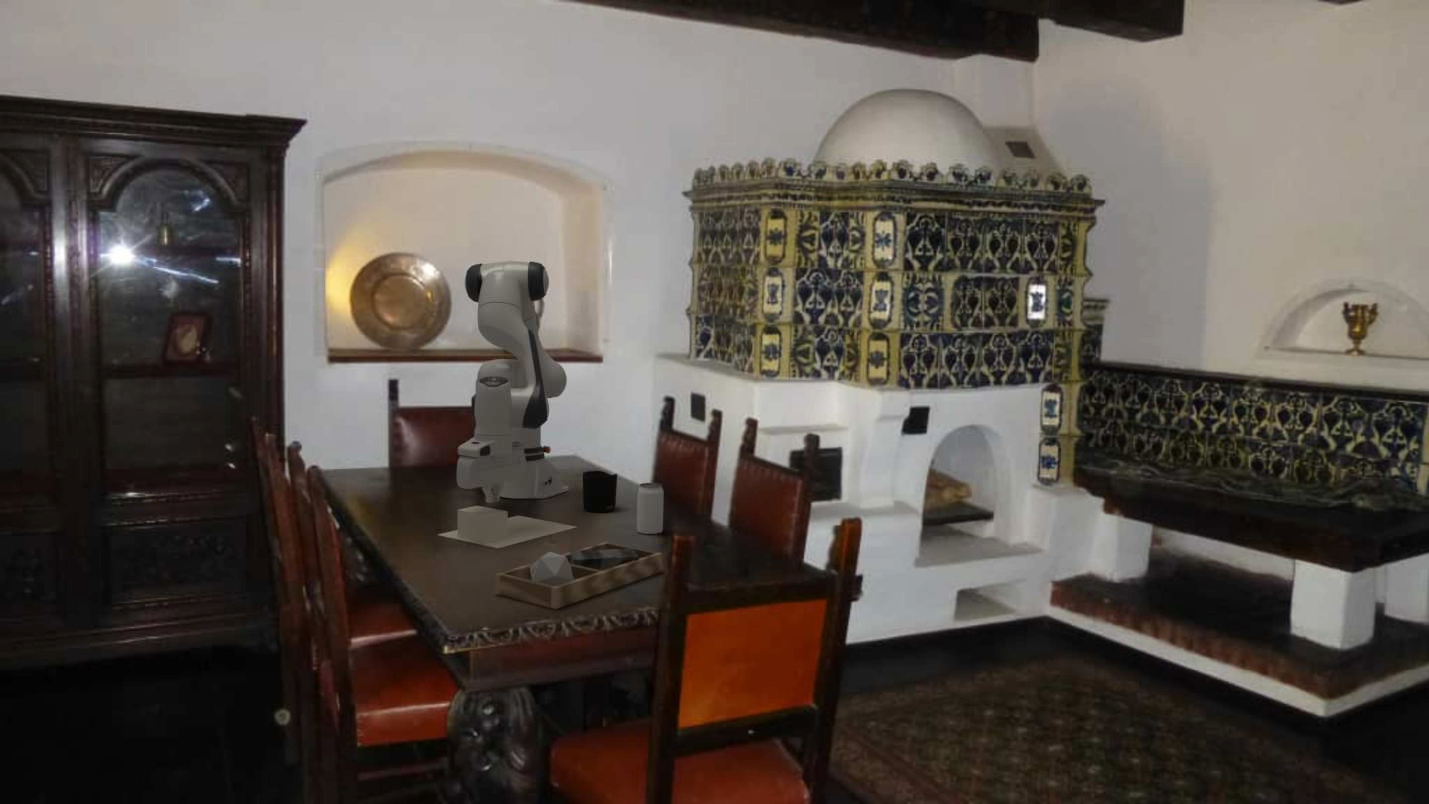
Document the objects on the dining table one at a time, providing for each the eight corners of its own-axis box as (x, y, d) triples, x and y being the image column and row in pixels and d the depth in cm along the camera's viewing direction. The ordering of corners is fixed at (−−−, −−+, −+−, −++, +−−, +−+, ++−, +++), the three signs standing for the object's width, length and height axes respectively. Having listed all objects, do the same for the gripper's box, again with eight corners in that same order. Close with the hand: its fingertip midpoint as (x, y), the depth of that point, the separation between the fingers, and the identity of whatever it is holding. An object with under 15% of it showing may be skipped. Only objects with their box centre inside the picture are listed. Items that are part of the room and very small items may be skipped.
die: (541, 587, 220) (518, 555, 215) (578, 567, 220) (556, 535, 215) (546, 612, 213) (523, 580, 208) (585, 592, 213) (562, 559, 208)
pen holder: (583, 513, 287) (584, 477, 286) (580, 506, 297) (581, 470, 295) (618, 513, 289) (619, 476, 288) (614, 506, 299) (615, 470, 297)
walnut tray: (605, 559, 241) (605, 541, 241) (662, 571, 233) (662, 553, 232) (495, 593, 213) (495, 574, 212) (555, 609, 204) (556, 588, 204)
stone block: (568, 569, 231) (568, 546, 231) (631, 568, 235) (632, 546, 234) (572, 581, 223) (573, 557, 222) (638, 579, 226) (639, 556, 226)
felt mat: (518, 517, 281) (518, 515, 281) (577, 528, 270) (577, 526, 270) (437, 536, 257) (437, 534, 257) (497, 549, 247) (497, 548, 247)
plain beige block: (457, 509, 255) (457, 536, 256) (487, 515, 250) (487, 543, 251) (477, 505, 261) (477, 531, 262) (507, 511, 255) (507, 538, 256)
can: (666, 530, 271) (667, 483, 270) (656, 536, 265) (658, 488, 264) (642, 528, 273) (643, 481, 272) (632, 533, 267) (633, 485, 266)
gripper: (513, 439, 267) (513, 493, 268) (452, 448, 250) (452, 506, 251) (532, 441, 263) (532, 497, 265) (471, 451, 246) (471, 510, 248)
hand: (492, 501), depth 258 cm, fingers closed
